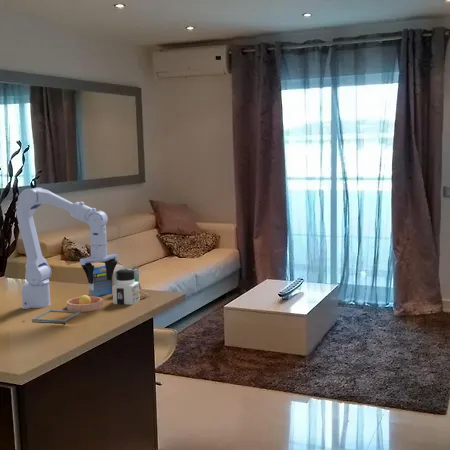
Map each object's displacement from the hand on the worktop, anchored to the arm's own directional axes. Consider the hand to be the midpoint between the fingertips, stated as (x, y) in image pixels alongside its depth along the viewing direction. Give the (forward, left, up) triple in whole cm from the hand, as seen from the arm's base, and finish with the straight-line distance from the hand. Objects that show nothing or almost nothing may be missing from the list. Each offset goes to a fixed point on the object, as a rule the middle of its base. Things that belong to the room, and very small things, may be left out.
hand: (100, 281), depth 221 cm
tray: (-9, -15, -10) cm, 20 cm away
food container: (+3, +23, -10) cm, 25 cm away
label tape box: (-8, +18, -10) cm, 22 cm away
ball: (-5, -2, -9) cm, 11 cm away
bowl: (-5, -2, -10) cm, 11 cm away
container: (+7, +8, -10) cm, 14 cm away
